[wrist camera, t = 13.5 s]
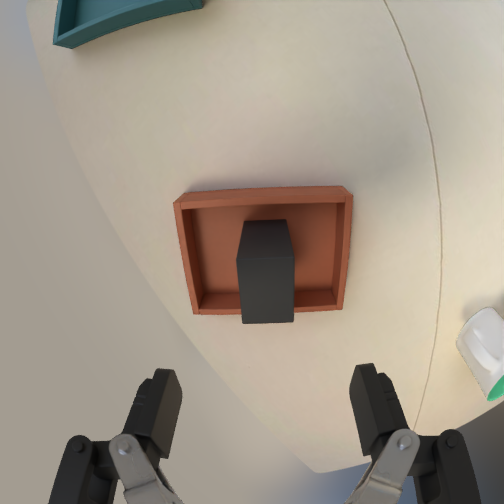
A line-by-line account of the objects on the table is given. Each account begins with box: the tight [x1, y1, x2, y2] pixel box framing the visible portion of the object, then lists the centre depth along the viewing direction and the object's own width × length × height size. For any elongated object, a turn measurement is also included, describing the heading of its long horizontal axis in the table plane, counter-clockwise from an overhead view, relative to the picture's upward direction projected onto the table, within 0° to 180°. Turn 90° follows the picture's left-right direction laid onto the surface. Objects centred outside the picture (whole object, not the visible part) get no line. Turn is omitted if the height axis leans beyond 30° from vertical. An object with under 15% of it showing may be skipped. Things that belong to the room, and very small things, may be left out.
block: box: [236, 219, 295, 324], centre depth 21 cm, size 4×5×7 cm
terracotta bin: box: [173, 186, 353, 315], centre depth 23 cm, size 13×10×3 cm
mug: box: [456, 307, 504, 401], centre depth 24 cm, size 12×8×10 cm, turn 68°
